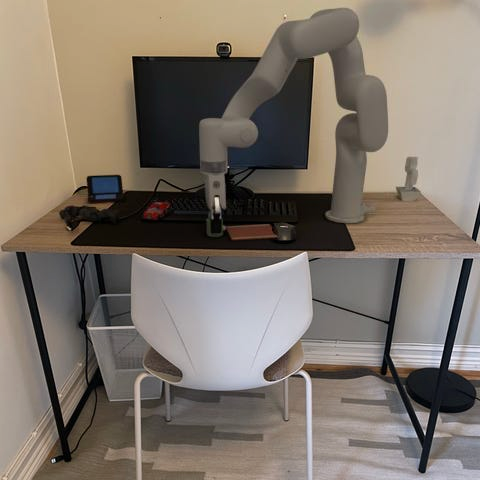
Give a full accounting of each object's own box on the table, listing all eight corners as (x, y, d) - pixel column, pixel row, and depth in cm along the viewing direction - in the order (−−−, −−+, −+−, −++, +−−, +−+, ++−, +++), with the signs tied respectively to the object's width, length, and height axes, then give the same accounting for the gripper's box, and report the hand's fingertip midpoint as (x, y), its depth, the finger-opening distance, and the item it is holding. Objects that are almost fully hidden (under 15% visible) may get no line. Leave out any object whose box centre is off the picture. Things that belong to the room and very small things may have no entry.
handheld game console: (87, 203, 171) (84, 182, 168) (89, 196, 181) (86, 175, 177) (124, 201, 174) (121, 180, 170) (123, 194, 183) (121, 174, 180)
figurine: (400, 202, 175) (407, 159, 168) (393, 195, 183) (399, 154, 176) (420, 202, 175) (428, 159, 168) (412, 195, 184) (419, 154, 176)
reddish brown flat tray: (269, 224, 152) (269, 223, 152) (279, 237, 142) (279, 236, 142) (225, 227, 150) (225, 226, 150) (231, 240, 140) (231, 239, 140)
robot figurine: (129, 215, 161) (73, 210, 165) (128, 202, 159) (72, 197, 162) (105, 233, 146) (45, 226, 149) (104, 219, 144) (42, 212, 147)
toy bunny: (224, 231, 147) (224, 202, 143) (227, 236, 143) (226, 207, 138) (205, 232, 146) (205, 203, 142) (207, 237, 142) (207, 208, 137)
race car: (156, 223, 153) (155, 210, 152) (140, 221, 155) (139, 208, 153) (174, 211, 164) (173, 199, 162) (159, 209, 166) (158, 198, 164)
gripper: (232, 173, 128) (232, 238, 137) (222, 160, 143) (223, 220, 151) (203, 173, 127) (205, 240, 136) (197, 160, 141) (199, 221, 150)
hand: (214, 229), depth 143 cm, fingers closed on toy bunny, 4 cm apart
